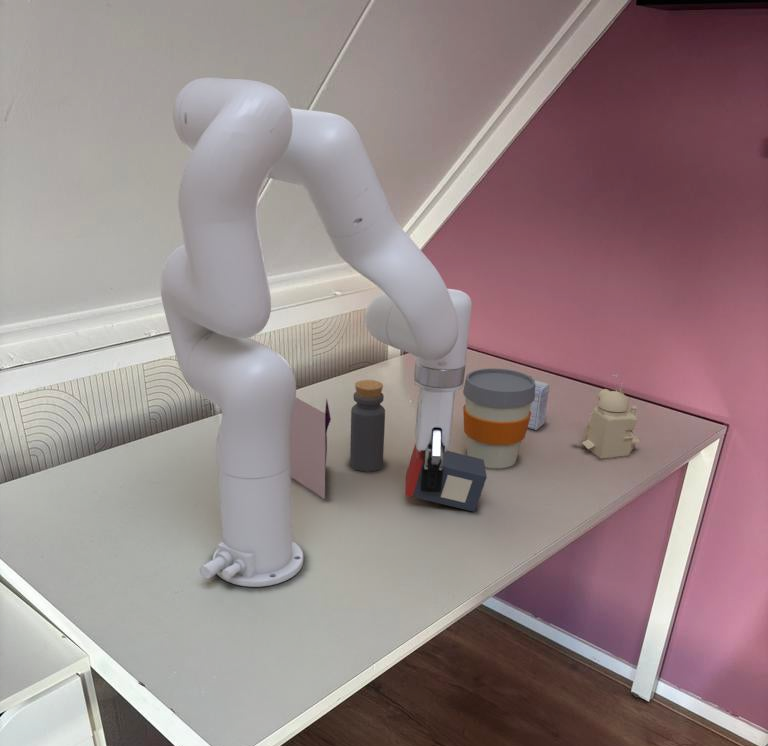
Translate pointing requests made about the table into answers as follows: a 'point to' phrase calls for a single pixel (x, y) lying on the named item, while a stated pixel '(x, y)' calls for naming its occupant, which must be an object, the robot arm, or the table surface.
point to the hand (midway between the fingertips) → (429, 480)
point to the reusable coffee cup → (497, 414)
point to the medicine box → (539, 405)
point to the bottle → (367, 427)
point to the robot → (611, 426)
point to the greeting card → (309, 446)
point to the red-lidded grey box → (449, 480)
